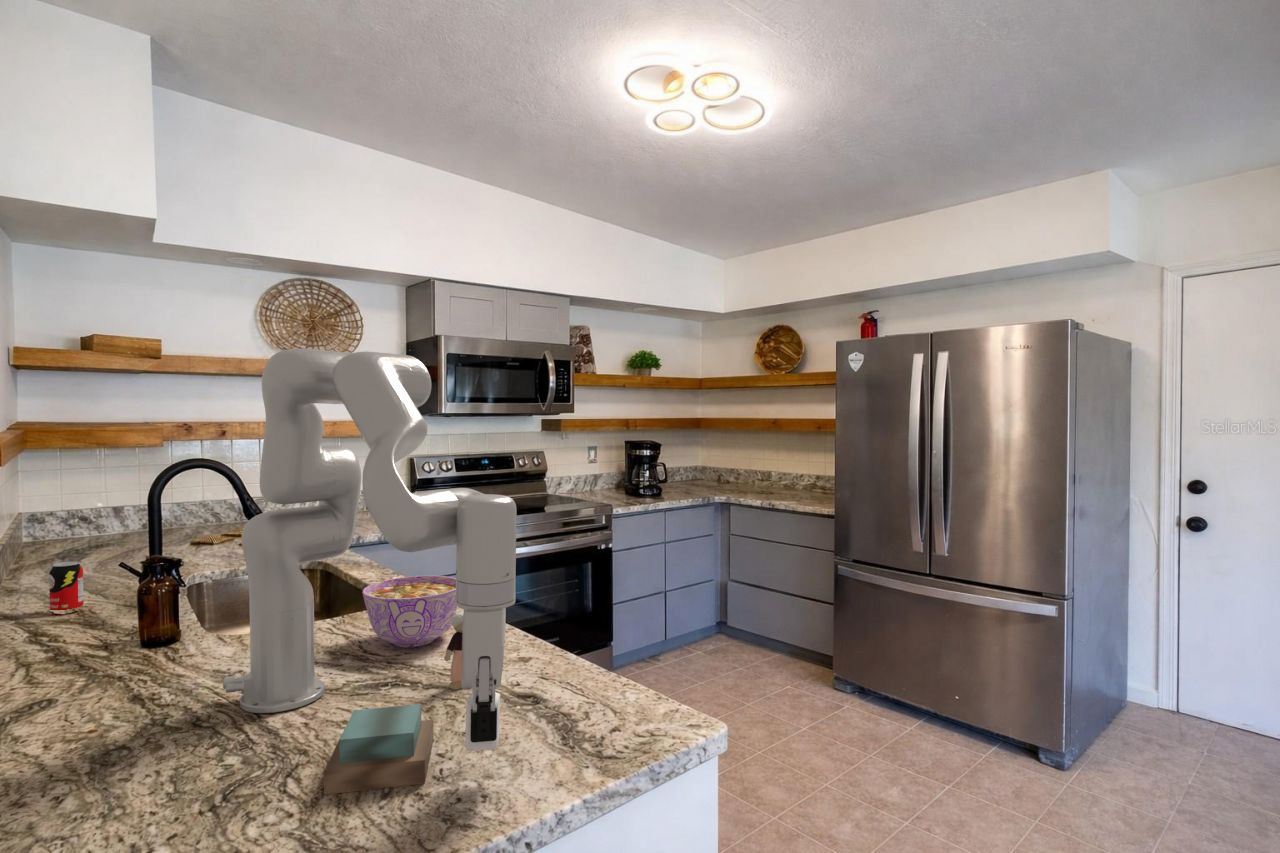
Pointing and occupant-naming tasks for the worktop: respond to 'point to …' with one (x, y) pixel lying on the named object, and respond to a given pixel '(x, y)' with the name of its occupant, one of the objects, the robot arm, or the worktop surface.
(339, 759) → the square push button
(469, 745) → the pepper shaker
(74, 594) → the beverage can
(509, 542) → the robot arm
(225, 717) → the worktop surface
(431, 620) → the bowl of food
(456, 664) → the grandmother figurine
